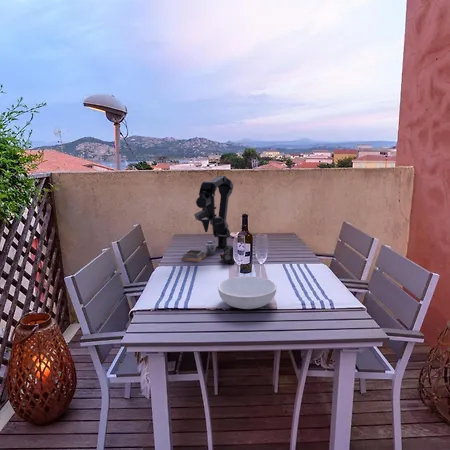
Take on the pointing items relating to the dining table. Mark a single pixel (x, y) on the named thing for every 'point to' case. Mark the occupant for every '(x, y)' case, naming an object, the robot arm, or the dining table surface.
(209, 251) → the lens
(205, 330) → the dining table surface
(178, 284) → the dining table surface
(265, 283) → the serving bowl
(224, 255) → the night vision scope
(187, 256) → the mount
